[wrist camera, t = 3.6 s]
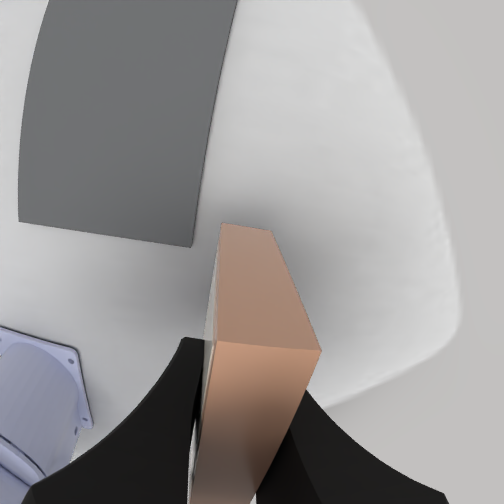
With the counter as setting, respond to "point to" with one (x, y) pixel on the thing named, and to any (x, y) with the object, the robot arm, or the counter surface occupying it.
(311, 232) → the counter surface
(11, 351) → the robot arm
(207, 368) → the tile
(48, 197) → the mat
